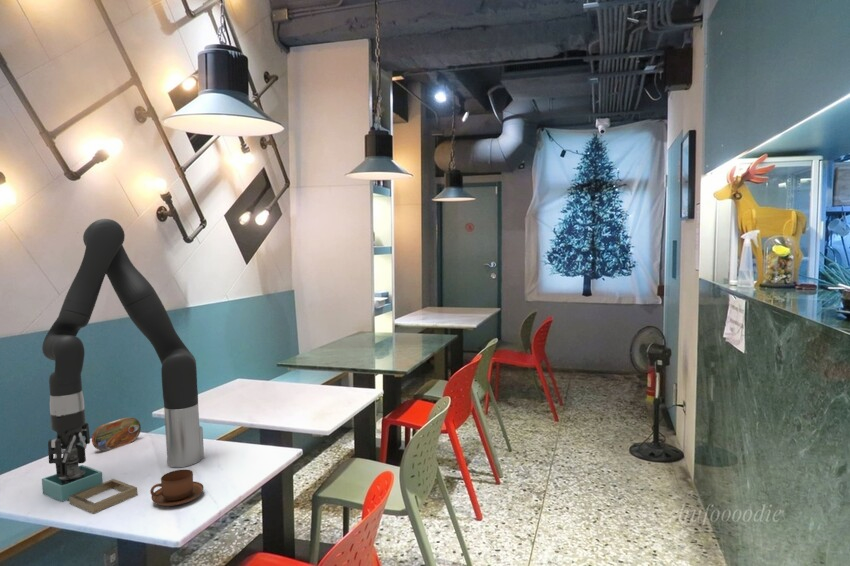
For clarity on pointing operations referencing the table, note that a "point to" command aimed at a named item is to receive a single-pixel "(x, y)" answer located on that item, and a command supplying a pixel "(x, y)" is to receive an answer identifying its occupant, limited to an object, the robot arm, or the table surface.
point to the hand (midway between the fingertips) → (71, 469)
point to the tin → (116, 434)
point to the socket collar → (91, 507)
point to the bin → (70, 484)
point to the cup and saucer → (176, 488)
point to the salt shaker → (72, 468)
